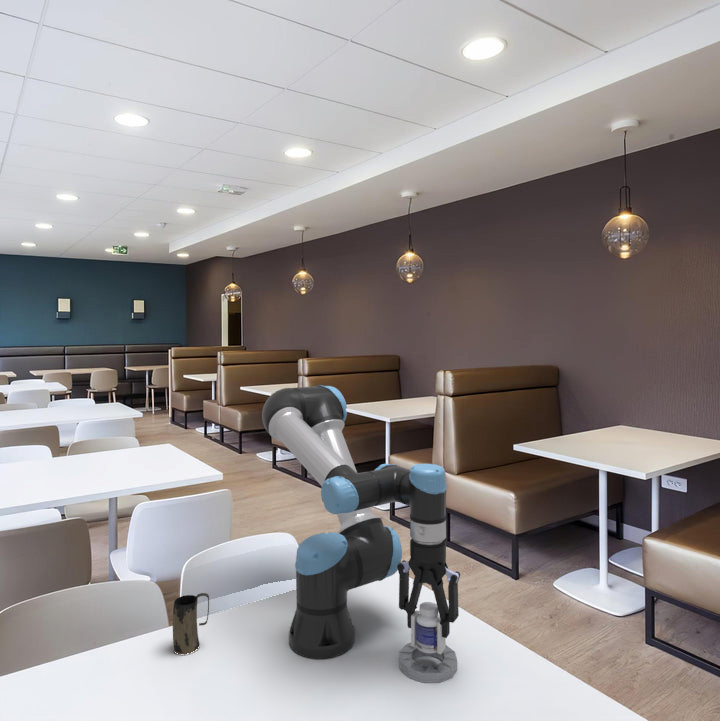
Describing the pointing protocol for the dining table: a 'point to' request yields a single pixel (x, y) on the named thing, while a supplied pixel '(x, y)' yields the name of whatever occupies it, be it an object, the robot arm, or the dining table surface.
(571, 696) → the dining table surface
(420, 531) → the robot arm
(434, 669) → the hub
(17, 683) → the dining table surface
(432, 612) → the pill bottle
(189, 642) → the mug
